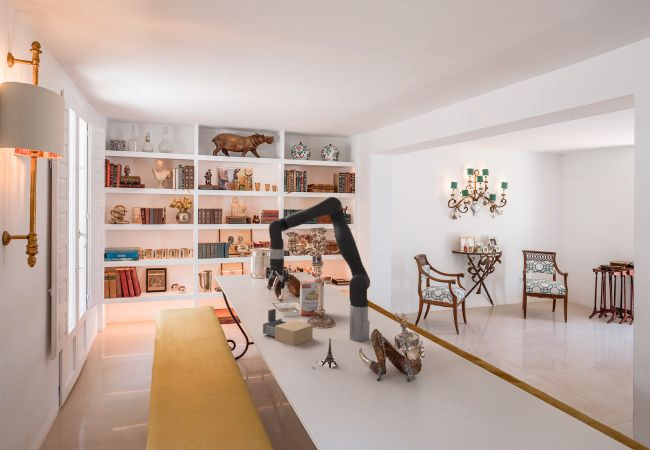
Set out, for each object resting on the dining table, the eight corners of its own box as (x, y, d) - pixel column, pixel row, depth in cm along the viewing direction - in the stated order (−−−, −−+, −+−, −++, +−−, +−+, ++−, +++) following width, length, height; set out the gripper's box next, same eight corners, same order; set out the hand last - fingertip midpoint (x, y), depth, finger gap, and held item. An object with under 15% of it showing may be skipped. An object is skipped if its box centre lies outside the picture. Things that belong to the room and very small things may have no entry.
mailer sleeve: (312, 338, 217) (312, 325, 216) (293, 345, 206) (293, 331, 206) (294, 333, 225) (294, 320, 225) (274, 339, 214) (275, 325, 214)
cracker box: (301, 316, 258) (301, 282, 257) (299, 313, 264) (299, 280, 263) (323, 315, 262) (324, 281, 261) (321, 312, 268) (321, 279, 267)
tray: (298, 333, 223) (298, 311, 222) (280, 339, 212) (280, 316, 212) (279, 327, 231) (279, 307, 231) (261, 333, 221) (261, 311, 220)
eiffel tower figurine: (345, 361, 189) (346, 331, 188) (348, 370, 178) (349, 339, 178) (311, 361, 188) (312, 331, 187) (312, 370, 178) (313, 339, 177)
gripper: (291, 257, 224) (291, 288, 225) (272, 255, 233) (272, 284, 234) (281, 259, 218) (281, 290, 219) (262, 256, 227) (262, 287, 228)
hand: (276, 287), depth 226 cm, fingers open, 8 cm apart
